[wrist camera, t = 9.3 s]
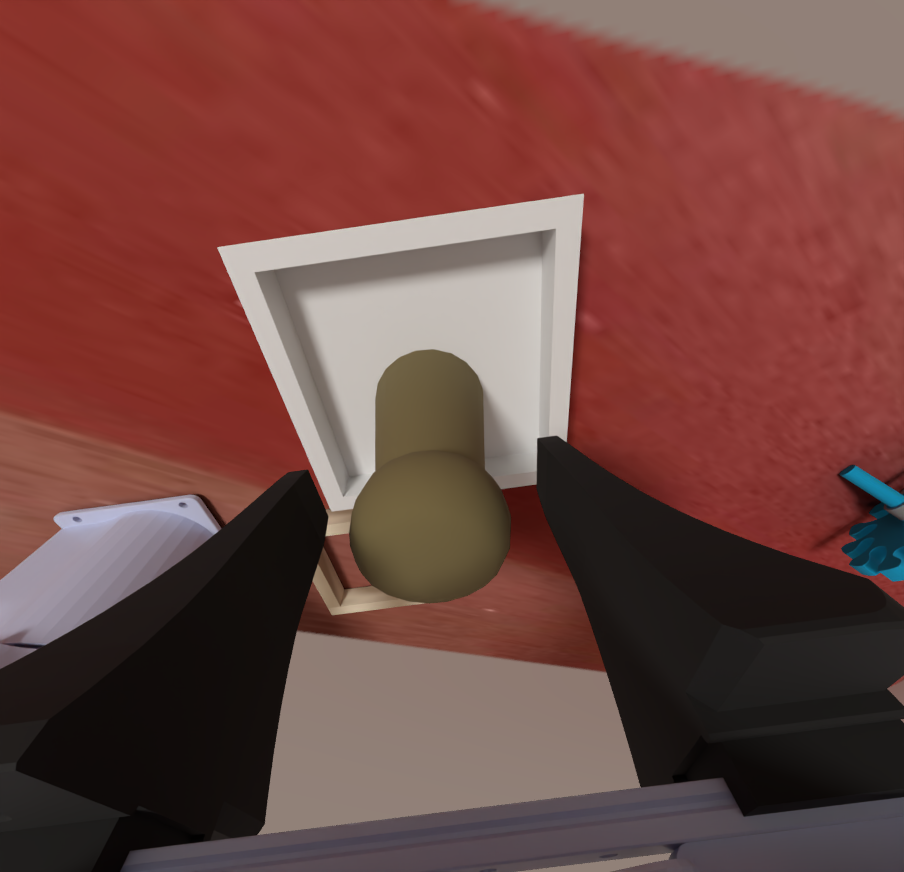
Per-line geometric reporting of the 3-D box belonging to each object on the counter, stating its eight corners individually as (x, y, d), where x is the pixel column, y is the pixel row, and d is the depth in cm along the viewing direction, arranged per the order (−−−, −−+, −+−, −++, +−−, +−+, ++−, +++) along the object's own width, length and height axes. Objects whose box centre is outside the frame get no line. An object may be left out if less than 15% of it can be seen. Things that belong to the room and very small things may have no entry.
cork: (491, 435, 20) (544, 611, 11) (394, 456, 21) (367, 644, 12) (473, 336, 17) (525, 470, 8) (358, 364, 18) (281, 521, 8)
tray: (340, 484, 23) (331, 511, 20) (246, 243, 15) (217, 247, 13) (550, 456, 22) (563, 480, 20) (561, 197, 15) (583, 193, 13)
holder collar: (336, 598, 29) (331, 615, 28) (292, 514, 24) (284, 530, 22) (452, 583, 29) (453, 599, 28) (434, 495, 24) (435, 510, 22)
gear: (835, 562, 28) (934, 613, 19) (763, 509, 30) (820, 531, 21) (972, 463, 25) (1164, 467, 16) (880, 412, 27) (1004, 391, 18)
